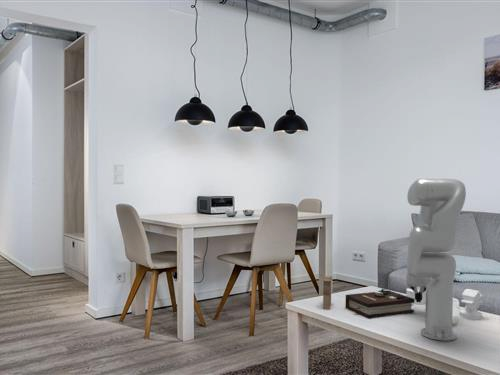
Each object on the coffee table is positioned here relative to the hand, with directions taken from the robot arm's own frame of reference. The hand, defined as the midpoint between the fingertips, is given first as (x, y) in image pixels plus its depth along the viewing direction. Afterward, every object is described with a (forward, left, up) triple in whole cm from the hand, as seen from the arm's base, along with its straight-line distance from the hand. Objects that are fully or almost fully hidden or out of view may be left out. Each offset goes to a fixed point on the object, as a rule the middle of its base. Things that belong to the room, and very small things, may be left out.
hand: (418, 301), depth 199 cm
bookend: (0, +40, -5) cm, 41 cm away
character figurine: (0, -22, -5) cm, 22 cm away
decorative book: (-1, +17, -6) cm, 18 cm away
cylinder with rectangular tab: (+20, -2, -5) cm, 21 cm away
